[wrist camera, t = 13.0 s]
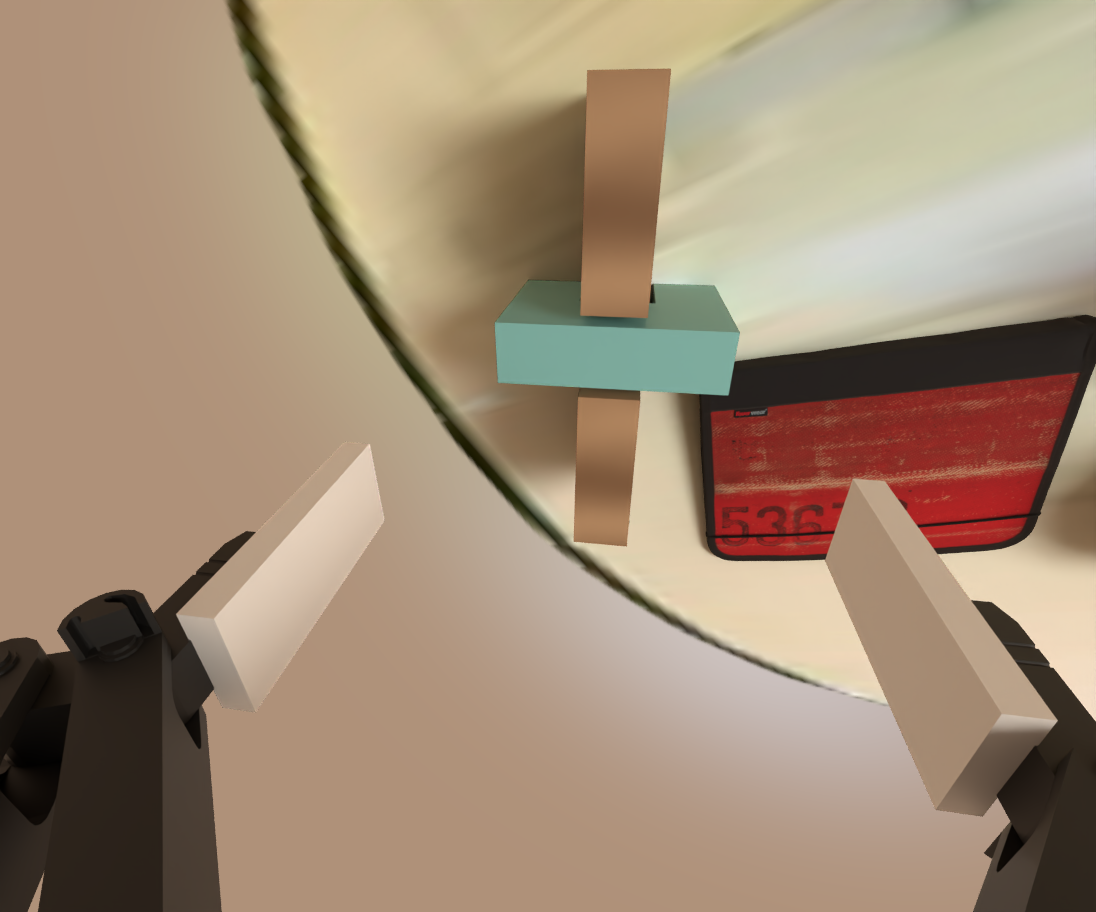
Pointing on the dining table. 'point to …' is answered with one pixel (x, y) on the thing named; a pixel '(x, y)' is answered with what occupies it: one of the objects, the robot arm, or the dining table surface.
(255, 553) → the robot arm
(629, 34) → the dining table surface
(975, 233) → the dining table surface
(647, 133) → the walnut board
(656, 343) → the teal plate
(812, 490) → the binder
